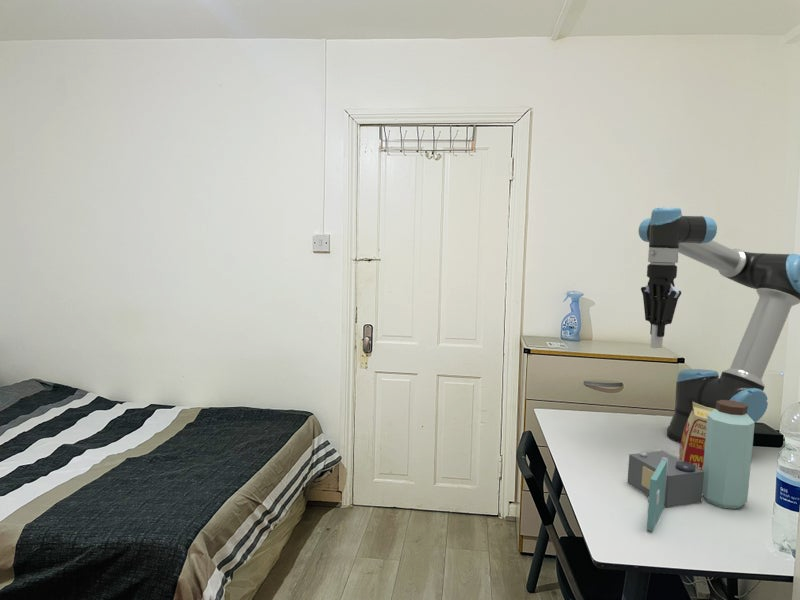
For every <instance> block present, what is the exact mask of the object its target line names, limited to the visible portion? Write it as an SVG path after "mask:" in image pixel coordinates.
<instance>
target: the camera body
mask: <svg viewBox="0 0 800 600" xmlns="http://www.w3.org/2000/svg"><path fill="white" fill-rule="evenodd" d="M662 457H666V458H668V466H667V479H666V491H665V504H664V508H674V507H680V506H686V505H687V506H688V505H693V504H694V503H695V504H701V503H702V499H703V494H702V490H703V479H704V471H702V470H700V469H698V468H696V466H695V465H694V464H691V463H688V462H684V461H682V460H680V459H679V458H678V457H676V456H674V455H672V454H670V453H668V452H666V451H663V450H656V451H655V450H654V451H648V452H645V451H640V452H638V453H629V454H628V466H627V468H628V469H627V482H626V483H627V484H628V485H629V486H631V487H632V488H634V489H636V490H638V491H639V492H641V493H642V494H644V495H646V496H647V497H649V492H650V479H651V477H652V476H653V474H654V472H655V470H656V469H657V467H658V465H659V464H660V462H661V459H662Z"/></svg>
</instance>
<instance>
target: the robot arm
mask: <svg viewBox="0 0 800 600" xmlns="http://www.w3.org/2000/svg"><path fill="white" fill-rule="evenodd" d="M650 214H651V215H650V218H649V217H647V218H645V219H644V220H642V221H641V222H640V224H639V227H638V236H639V238H640V239H641V240H642V241H643V242H645V243H648V255H647V256H648V257H647V262H648V264H647V267H646V277H647V278H648V281H647V285H645V286H641V287H640V291H641V294H642V299H643V309H644V319H645V321H646V322H649V323H650V345H649V346H650V348H653V349H663V342H664V341H663V340H664V336H665V332H666V331H665V330H666V328H665V327H666V326H667V325H671V324H672V322H673V318H674V315H675V311H676V308H677V304H678V300H679V298H680V297H681V295H682V290H677V288H676V287H675V286H676V285H675V279H676V278H677V276H678V266H677V265H676V264H678V263H679V254H682V255H683V256H685V257H688V258H690V259H692V260H695V261H696V262H699V263H701V264H703V265H705V266H708V267H710V268H712V269H714V270H717V271H718V273H719V274H720V275H721V276H722V277H723V278H727V279H729V280H730V281H734V282H735V283H738V284H739V285H742V286H744V287H747V288H750V289H754V290H755V291H756V294H757V295H758V296H759V298H758V300H757V302H756V305H755V307H754V310H753V313H752V314H751V317H750V319H749V322H748V324H747V326H746V329H745V331H744V333H743V336H742V338H741V341H740V343H739V346H738V348H737V350H736V353H735V355H734V358H733V360H732V363H731V365H730V367H729V368H727V369H725V370H723V371H721V373H720V375H719V371H717V370H713V369H705V368H704V369H702V368H701V369H699V368H697V369H696V368H691V369H682V370H680V371H679V372H678V373H677V379H676V385H675V386H676V387H675V404H674V414H673V416H672V418H671V420H670V423H669V425H668V427H667V431H666V435H667V437H668V438H669V439H670V440H672V441H675V442H676V443H677V442H678V443H679V444H681V440H682V436H683V431H684V427H685V425H686V423H687V420H688V418H689V416H690V413H691V411H692V407H693V403H692V402H694V403H697V404H700V405H702V406H705V407H709V408H713V409H715V408H716V401H719V400H731V401H736V402H741V403H744V404H745V405H747V406H748V409H747V414H748V415H749V417H750V418H751V419H752V420H753V421H754V422H755V423H757V422H758V421H759V420H761V419H762V417H763V416H764V415H765V413H766V411H767V409H768V403H769V402H768V396H767V394H766V393H765V391H764V390H765V387H766V386H765V384H764V383H763V380H762V379H763V377H764V374H765V371H766V369H767V368H768V365H769V362H770V360H771V358H772V356H773V352H774V350H775V348H776V345H777V343H778V340H779V339H780V335H781V334H782V330H783V329H784V326H785V323H786V321H787V318H789V317H788V316H789V314H790V311H791V310H792V307H793V306H796V305H798V304H800V254H797V253H786V254H785V253H764V252H762V253H761V252H749V251H748V252H747V251H744V250H742V249H739V248H730V247H728V246H725V245H723V244H721V243H718V242H717V241H714V239H715V237H716V236H717V233H718V232H717V231H718V226H717V223H716V221H715V220H714V219H713V218H711V217H710V216H703V215H699V216H698V215H683V214H682V209H681V208H680V207H672V206H671V207H665V206H663V207H655V208H654V209H652V211H651V213H650Z"/></svg>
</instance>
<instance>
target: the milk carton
mask: <svg viewBox="0 0 800 600" xmlns="http://www.w3.org/2000/svg"><path fill="white" fill-rule="evenodd" d="M692 403H693V407H692V411H691V413H690V416H689V418H688V420H687V423H686V425H685V427H684V431H683V436H682V440H681V443H679V453H678V454H679V456H678V457H679V458H678V459H680V460H682V461H684V462H688V463H691V464H694V465H695V466H696V468H698V469H700V470H702V471H703V462H704V451H705V439H706V427H707V415H708V414H709V413H710V412H712V411H713V410H714V409H713V408H709V407H705V406H702V405H700V404H697V403H694V402H692Z"/></svg>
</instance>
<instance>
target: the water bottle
mask: <svg viewBox="0 0 800 600" xmlns="http://www.w3.org/2000/svg"><path fill="white" fill-rule="evenodd" d="M747 409H748V406H747V405H745V404H744V403H741V402H736V401H731V400H719V401H716V408H715V409H714V410H713V411H712V412H710V413H709V414H708V415H707V427H706V439H705V451H704V462H703V471H704V479H703V490H702V496H703V498H704V499H706V501H707V502H708V503H710V504H713V505H715V506H717V507H720V508H722V509H730V510H733V509H734V510H737V509H739V508H741V507H743V506H744V505H746V503H747V502H748V498H749V497H748V496H749V487H750V486H749V485H750V477H751V465H752V454H753V445H754V436H755V435H754V434H755V425H756V424H755V423H756V422H754V421H753V420H752V419H751V418H750V417H749V415H748V414H747Z"/></svg>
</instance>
